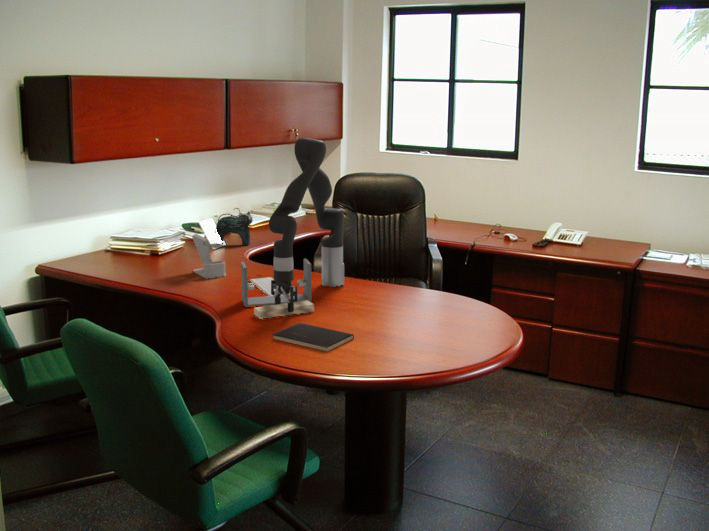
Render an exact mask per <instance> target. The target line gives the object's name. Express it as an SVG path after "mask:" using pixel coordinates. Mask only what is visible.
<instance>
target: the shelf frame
mask: <svg viewBox="0 0 709 531" xmlns="http://www.w3.org/2000/svg"><path fill="white" fill-rule="evenodd" d="M247 267H248V266H247V265H246V263H245V261H241V262H240V276H241V277H240V278H241V280H240V281H241V301H243V302H242V304H243V303H244V304H243V306H245V307H250V306H251V308H253V307H252V306H264V305H275V298H274V296H265V295H264V296H253V297H252V296H251V297H249V294H248V292H249V291H252V290H255V289H256V288H255V287H254V285H253V283H249V282H248V268H247ZM296 283H297V285H299V288H301V287H302V288H303V293H301V294H300V293H297V298H298V301H297V302H299V301H306V300H308V301H310V302H311V303H313V302H312V301H313V300H312V298H313V297H312V263H311V262H310V261H309V260H308V259H307V258H303V279H297V281H296ZM280 297H281V304H284V303H288V301H287V299H286V298H285V297H284V295H281V296H280ZM293 297H294V299H295V296H293ZM289 299H290V297H289ZM245 307H244V308H245Z"/></svg>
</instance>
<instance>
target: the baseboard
mask: <svg viewBox="0 0 709 531" xmlns="http://www.w3.org/2000/svg"><path fill="white" fill-rule="evenodd" d="M259 277H260V278H259ZM249 278H250V279H249ZM247 279H249V280H250V281H251V282H252V283H253V284H254V285H256V286H257V287H258V288H259V289H260V290H262V291H263V292H264V293H266V294H267V295H268V296H274V295H271V280H274V277H271V274H269V275H267V276H266V277H261V275H260V274H258V275H257V278H251V277H249V276H247ZM274 291H275V289H274ZM289 294H290V293H289ZM289 294H288V295H289ZM281 295H283V294H281Z"/></svg>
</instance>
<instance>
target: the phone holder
mask: <svg viewBox="0 0 709 531" xmlns="http://www.w3.org/2000/svg"><path fill="white" fill-rule="evenodd" d="M191 238H192V240H193V242H194V245H195V247H196V249H197V252H198V255H199V257H200V259H201V262H202V264H203V268H202V267H201V268H196V269H193V273H195V274H196V275H199V276H201V277H202V278H204V279H206V280H208V278H210V279H216V278H215V277H217V278H222V276H224V277H226V276H227V274H226V262H225V261H223V260H216V261H212V258H211V256H210V252H211V249H212V246H211V243H210V241H209V240H208V239H207V237H204V236H201V235H199V234H197V233H194V234H193V235H191Z"/></svg>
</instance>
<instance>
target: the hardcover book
mask: <svg viewBox="0 0 709 531" xmlns="http://www.w3.org/2000/svg"><path fill="white" fill-rule="evenodd" d="M272 336H273V340H277V341H282V342H285V343H291V344H295V345H299V346H301V347H302V346H303V347H308V348H312V349H315V350H320V351H324V352H329V351H331V350H333V349H336V348H337V347H339V346H341V345H343V344H345V343H347V342H349V341H352V340H353V339H354V338H355V337H354V334H353V333H349V332H346V331H345V332H344V331H341V330H340V331H339V330H335V329H330V328H326V327H321V326H316V325H312V324H307V323H304V322H298V323H296V324H293V325H291V326H289V327H286V328H284V329H281V330H279V331H276V332H273V333H272Z"/></svg>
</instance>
